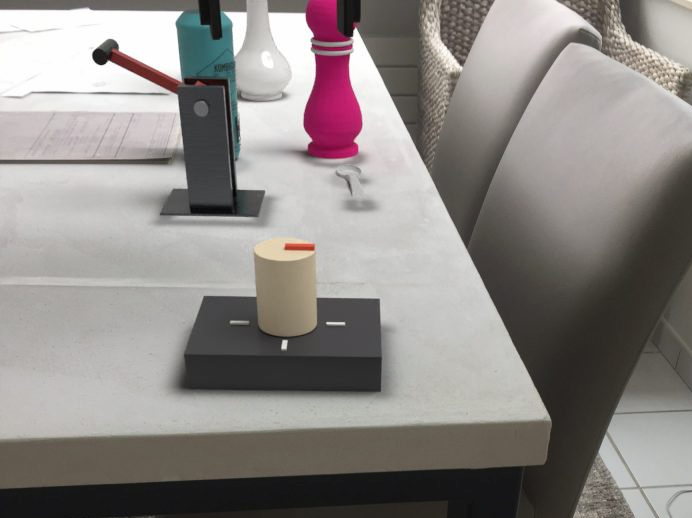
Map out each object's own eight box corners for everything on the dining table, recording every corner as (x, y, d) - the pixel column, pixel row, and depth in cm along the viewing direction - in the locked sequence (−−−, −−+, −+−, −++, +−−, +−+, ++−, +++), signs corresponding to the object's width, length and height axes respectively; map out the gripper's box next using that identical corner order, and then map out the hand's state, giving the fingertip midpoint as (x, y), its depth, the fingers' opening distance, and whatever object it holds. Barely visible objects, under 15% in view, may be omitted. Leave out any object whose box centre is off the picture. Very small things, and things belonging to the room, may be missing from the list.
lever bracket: (161, 224, 91) (143, 89, 84) (174, 199, 98) (159, 71, 90) (259, 226, 92) (251, 92, 84) (265, 201, 98) (258, 73, 90)
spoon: (359, 175, 106) (359, 158, 105) (374, 216, 97) (375, 198, 96) (334, 175, 105) (334, 158, 104) (347, 217, 97) (347, 199, 95)
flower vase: (324, 109, 131) (321, -97, 116) (198, 105, 131) (179, -102, 116) (329, 88, 141) (327, -103, 126) (213, 85, 141) (197, -107, 126)
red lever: (88, 66, 84) (95, 40, 82) (101, 55, 88) (107, 30, 86) (211, 126, 87) (219, 102, 86) (217, 113, 91) (226, 90, 90)
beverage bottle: (178, 171, 106) (156, -25, 94) (204, 156, 111) (187, -31, 99) (228, 178, 104) (212, -20, 92) (252, 162, 109) (241, -27, 97)
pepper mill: (361, 169, 108) (363, -22, 96) (302, 167, 108) (296, -24, 96) (362, 152, 114) (364, -30, 102) (306, 150, 114) (301, -32, 102)
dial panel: (188, 391, 65) (183, 352, 63) (207, 330, 73) (203, 293, 71) (380, 393, 65) (382, 354, 63) (378, 332, 73) (379, 296, 71)
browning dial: (255, 336, 65) (250, 255, 62) (261, 310, 69) (256, 232, 65) (315, 337, 65) (314, 256, 62) (318, 311, 69) (316, 234, 65)
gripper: (388, -260, 61) (383, 25, 71) (126, -271, 57) (161, 29, 68) (415, -269, 55) (406, 42, 65) (125, -282, 51) (164, 47, 62)
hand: (281, 35), depth 66 cm, fingers open, 9 cm apart
